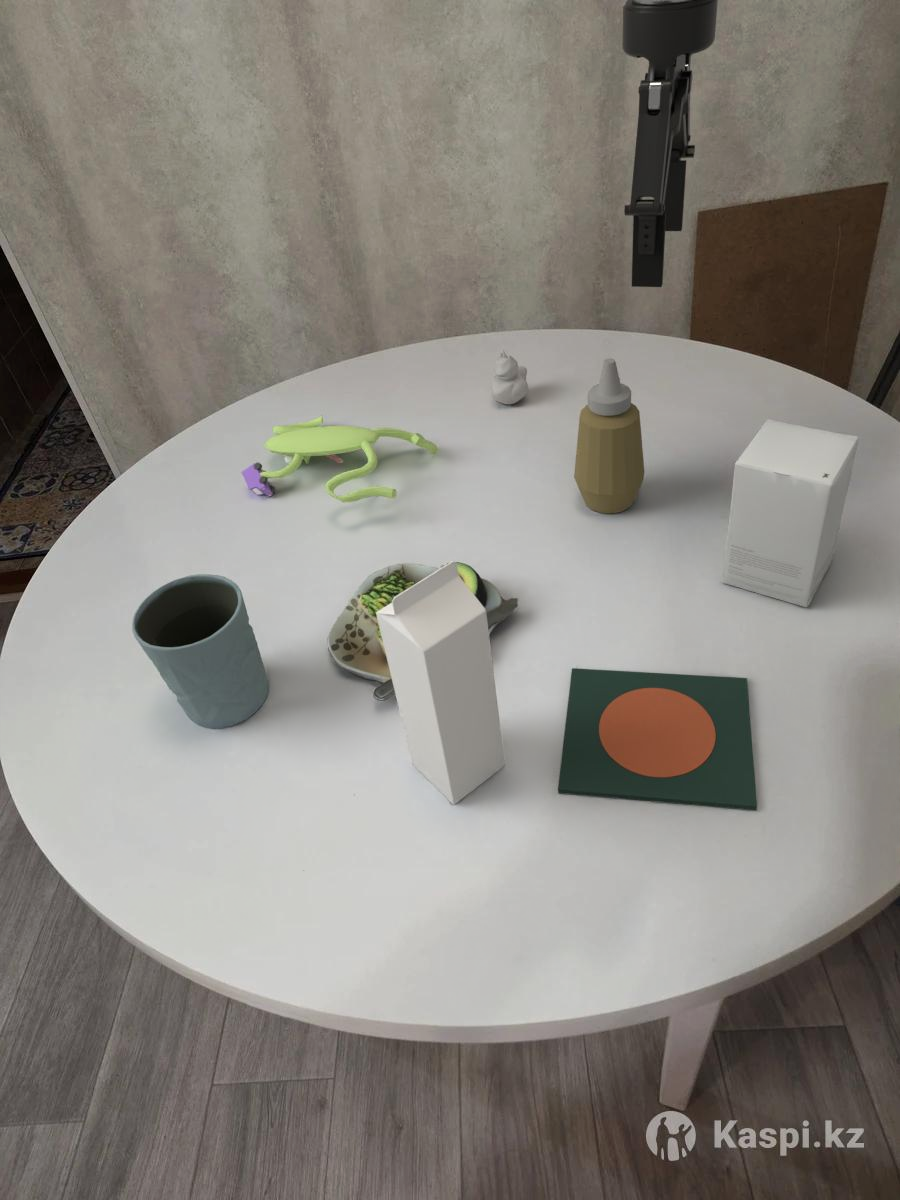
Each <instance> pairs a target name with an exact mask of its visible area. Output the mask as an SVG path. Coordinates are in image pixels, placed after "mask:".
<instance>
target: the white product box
mask: <svg viewBox="0 0 900 1200" xmlns="http://www.w3.org/2000/svg"><path fill="white" fill-rule="evenodd" d="M859 440H860V437H859V436H856V435H850V434H846V433H840V432H835V431H831V430H830V431H829V430H825V429H819V428H814V427H809V426H805V425H800V424H799V425H798V424H794V423H789V422H784V421H779V420H774V419H770V418H767V419H766V420H765V422H764V423H763V424H762V426H761V428H760V429H759V431H757V434H756V435H755V436H754V438H753V439H752V440H751V442H750V443H748V445H747V447H746V448H745V449H744V451H743V452H742V453H741V455H740V456H739V457H738V459H737V460H736V462H735V463H734V468H733V481H732V490H731V491H732V492H731V499H730V501H731V502H730V508H729V517H728V528H727V538H726V547H725V554H724V564H723V573H722V583H723V584H724V585H729V586H732V587H735V588H737V589H743V590H745V591H749V592H752V593H756V594H759V595H762V596H766V597H769V598H773V599H777V600H780V601H782V602H786V603H790V604H794V605H797V606H799V607H804V608H808V607H809V606H810V604H811V602H812V600H813V598H814V596H815V594H816V592H817V591H818V588H819V587H820V584H821V583H822V581H823V579H824V577H825V575H826V574H827V571H828V569H829V567H830V566H831V564H832V562H833V559H834V554H835V550H836V545H837V541H838V537H839V532H840V527H841V523H842V518H843V513H844V509H845V504H846V500H847V494H848V490H849V485H850V480H851V477H852V472H853V467H854V462H855V458H856V454H857V449H858V445H859Z"/></svg>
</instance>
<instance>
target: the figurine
mask: <svg viewBox="0 0 900 1200" xmlns="http://www.w3.org/2000/svg"><path fill="white" fill-rule="evenodd" d="M323 423H324V419H323V416H322V414H321V415H320V416H319V417H317V418H314V419H311V420H307V421H303V422H298V423H291V424H285V425H277V426H274V427H272V434H274V435H275V436H273V437H271V438H269V439H267V441H265V443H264V448H265V450H267V451H269V452H271V453H272V454H276V455H277V454H278V455H281V456H284V457H283V458H284V462H285V463H286V465H287V466H285V467H283V468H281V469H279V470H276V471H275V470H273V471H272V470H271V471H268V470H264V469H263V464H262V463H261V462H259V461H258V462H257V461H256V463H255V462H254V463H253V464H251V465H250V466H248V467H247V468H245V469H244V470H242V471H241V472H240V473H241V474H242V477H243V479H244V480H245V483H246V484H247V487H248V489H249V490H250V491H252V492H253V493H254V494H255V495H256V496H262V495H265V496H267V497H268V498H270V497H271V496H273V495H274V492H275V491H276V487H275V486H274V485H272V484H270V483H269V479H284V478H287V477H289V476H291V475H292V474H293V473H295V472H296V471H297V469H299V467H300V466H301V465H302V462H303V461H304V462H305V464H306V465H307V466H308V465H309V463H310V460H311V458H312V457H317V456H318V457H320V456H324V457H326V458H329V459H331V460H333V461H334V462H336V463H338V464H339V463H341V464H342V463H344V460H343V458H340V457H339V456H337V454H344V453H346V454H347V453H350V452H353V451H357V450H363V452H364V453H365V455H366V457H367V463H366V464H365V465H363V466H361V467H360V468H355V469H352V470H347V471H344V472H341V473H339V474H337V475H335V476H333V477H331V478H330V479H329V480H328V481H327V482H326V483H325V486H324V490H325V491H326V492H327V494H328V495H329V496H331V497H333V498H335V499H337V500H338V501H340V502H341V503H353V502H357V501H360V500H362V499H365V498H366V499H367V498H372V497H384V498H390V499H396V497H397V488H396V489H395V488H392V487H387V486H380V485H379V486H378V485H376V486H368V487H363V488H359V489H357V490H355V491H352V492H349V493H346V494H341V495H337V494H336V493H334V490H335V489H336V488H337V487H338V486H341V485H343V484H344V483H347V482H349V481H351V480H355V479H359V478H362V477H365V476H368V475H369V474H371V473H372V472H373V471H374V470H375V469H376V468H377V466H378V456H377V454H376V451H375V449H374V447H373V446H372V445H374V444H375V443H377V441H378V440H379V438H381V437H382V438H384V437H385V438H395V439H400V440H404V441H407V442H409V443H412V444H414V445H415V446H417V447H419V448H423V449H425V450H427V451H428V452H429V453H430V454H431V455H432V456H434V455H436V454H437V453H438V452H439V448H438V446H437V444H435V443H434V442H432V441H430V440H427V439H426V438H425V437H424V436H423V435H422V434H421V433H419V432H415V433H413V432H410V431H407V430H403V429H399V428H392V427H378V428H374V429H371V428H367V427H362V426H355V425H353V426H352V425H327V426H326V425H324V426H322V425H323Z"/></svg>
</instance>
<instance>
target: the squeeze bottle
mask: <svg viewBox="0 0 900 1200" xmlns="http://www.w3.org/2000/svg"><path fill="white" fill-rule="evenodd" d="M599 377H600V378H599V382H598V383H597V384H595V385H593V386H592V387H591V388H590V389H589V390H588V392H587V403H586V405H585V406H584V407H583V408H582V409H581V410H580V413H579V419H578V421H579V422H578V431H577V440H576V441H577V443H576V450H575V451H576V453H575V463H574V473H573V474H574V475H573V478H574V480H575V483H576V485H577V487H578V490H579V492H580V495H581V496H582V499H583V501H584V503H585V505H586V507H587V508H589V509H590V510H591V511H594V512H597V513H600V514H616V513H617V514H618V513H621V512H623V511H625V510H628V509H629V508H630V507H631V506H632V505H633V504H634V502H635V500H636V498H637V495H638V493H639V491H640V489H641V487H642V484H643V482H644V480H645V461H644V451H643V450H644V448H643V437H642V425H641V414H640V413H641V412H640V410H639V409H638V407H637V406H636V404H634V403H632V390H631V388H630V387H629V386H627V385H626V384H624V383H621V379H620V375H619V371H618V367H617V362H616V359H615V358H611V357H609V358H606V359H604V360H603V364H602V368H601V373H600V376H599Z"/></svg>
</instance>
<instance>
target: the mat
mask: <svg viewBox="0 0 900 1200" xmlns="http://www.w3.org/2000/svg"><path fill="white" fill-rule="evenodd" d="M570 674H571V675H570V682H569V691H568V700H567V708H566V717H565V724H564V726H565V727H564V734H563V742H562V749H561V750H562V751H561V759H560V766H559V767H560V768H559V776H558V777H559V779H558V785H557V793H558V794H563V795H566V794H567V795H575V796H577V795H578V796H589V797H598V798H609V799H610V798H611V799H623V800H633V801H646V802H655V803H656V802H658V803H666V804H668V803H669V804H678V805H679V804H681V805H690V806H701V807H702V806H703V807H715V808H726V809H735V810H737V809H738V810H747V811H757V809H758V800H757V799H758V797H757V788H756V787H757V786H756V775H755V763H754V762H755V760H754V750H753V749H754V748H753V738H752V725H751V724H752V723H751V712H750V702H749V701H750V698H749V688H748V678H747V677H737V676H735V677H734V676H720V675H719V676H718V675H701V674H684V673H683V674H682V673H665V672H646V671H630V670H628V671H627V670H614V669H613V670H612V669H593V668H592V669H591V668H590V669H589V668H575V667H573V668H571V673H570Z"/></svg>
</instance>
